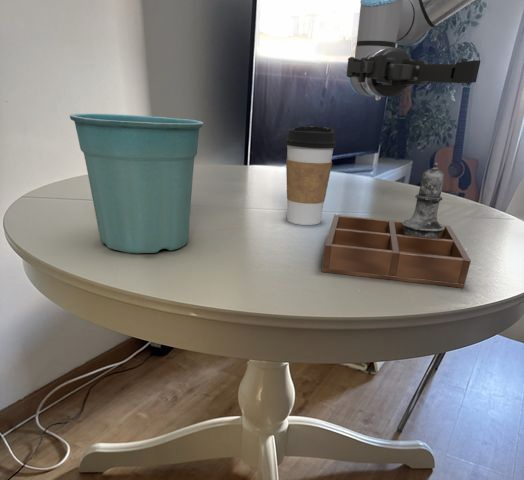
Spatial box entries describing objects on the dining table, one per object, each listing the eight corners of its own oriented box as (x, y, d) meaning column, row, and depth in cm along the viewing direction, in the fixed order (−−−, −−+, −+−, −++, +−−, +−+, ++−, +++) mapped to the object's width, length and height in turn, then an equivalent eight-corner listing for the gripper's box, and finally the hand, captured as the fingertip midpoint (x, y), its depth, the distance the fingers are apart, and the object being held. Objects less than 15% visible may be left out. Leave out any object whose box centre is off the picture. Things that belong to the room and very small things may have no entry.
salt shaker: (400, 241, 73) (416, 157, 67) (440, 247, 71) (459, 161, 66) (394, 251, 68) (411, 161, 62) (437, 257, 66) (458, 166, 61)
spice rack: (445, 248, 73) (450, 225, 72) (463, 288, 58) (471, 260, 57) (331, 236, 76) (334, 214, 74) (321, 271, 61) (324, 245, 59)
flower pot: (155, 222, 79) (149, 113, 71) (227, 244, 70) (229, 122, 62) (62, 239, 67) (43, 112, 60) (133, 268, 58) (121, 123, 51)
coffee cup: (333, 219, 86) (344, 128, 79) (318, 229, 80) (329, 131, 72) (290, 213, 89) (297, 124, 82) (272, 222, 83) (278, 126, 75)
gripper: (447, 100, 89) (506, 102, 71) (315, 93, 87) (339, 94, 69) (457, 52, 86) (521, 42, 67) (320, 44, 84) (346, 31, 65)
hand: (429, 68), depth 68 cm, fingers open, 13 cm apart
